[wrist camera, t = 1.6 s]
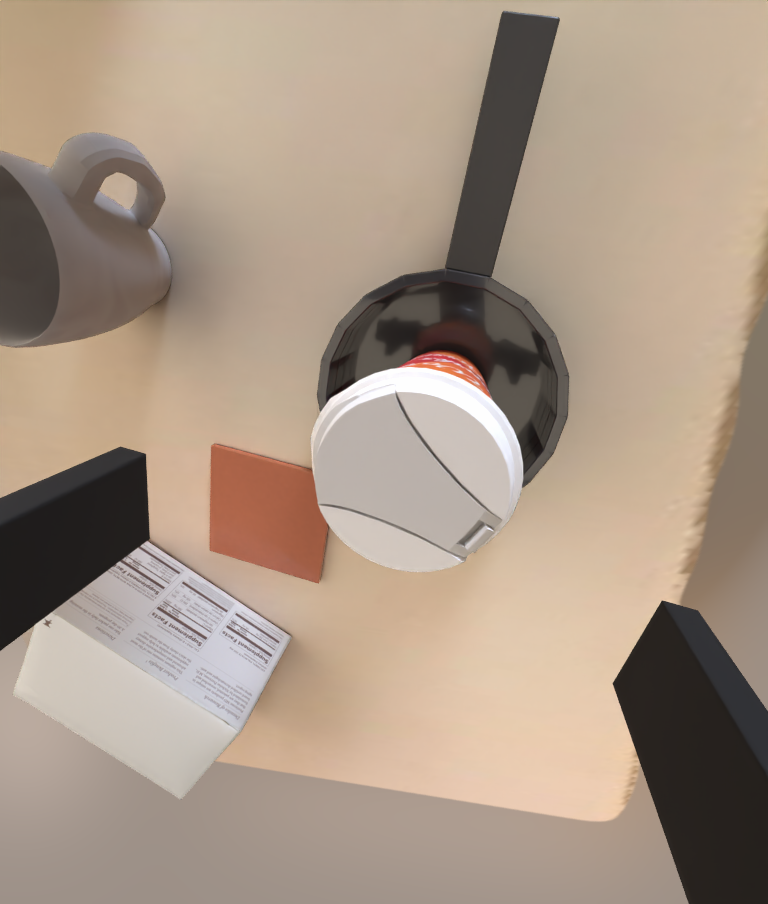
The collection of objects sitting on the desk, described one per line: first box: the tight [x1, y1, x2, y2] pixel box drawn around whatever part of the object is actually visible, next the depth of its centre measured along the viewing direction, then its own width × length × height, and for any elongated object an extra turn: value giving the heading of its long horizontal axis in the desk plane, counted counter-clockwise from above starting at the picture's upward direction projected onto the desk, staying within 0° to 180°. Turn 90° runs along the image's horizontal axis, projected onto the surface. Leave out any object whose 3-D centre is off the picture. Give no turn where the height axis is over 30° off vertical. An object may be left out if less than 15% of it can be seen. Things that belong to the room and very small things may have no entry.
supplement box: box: [13, 541, 291, 800], centre depth 36 cm, size 17×13×9 cm
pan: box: [317, 269, 569, 487], centre depth 25 cm, size 14×14×4 cm
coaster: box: [210, 444, 329, 583], centre depth 33 cm, size 10×10×1 cm
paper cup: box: [310, 350, 523, 572], centre depth 20 cm, size 8×8×14 cm
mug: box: [0, 133, 172, 348], centre depth 23 cm, size 12×9×10 cm
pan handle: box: [445, 11, 560, 278], centre depth 19 cm, size 10×2×1 cm, turn 169°
